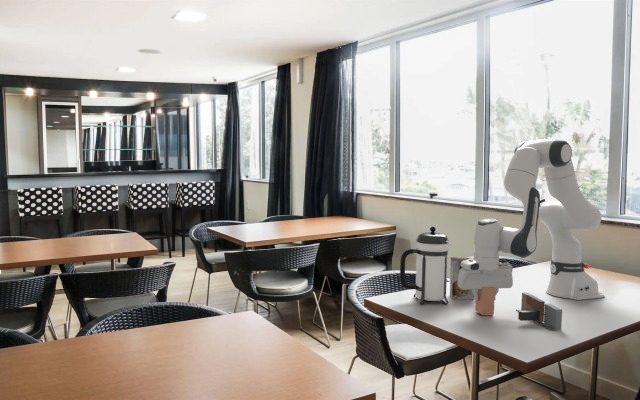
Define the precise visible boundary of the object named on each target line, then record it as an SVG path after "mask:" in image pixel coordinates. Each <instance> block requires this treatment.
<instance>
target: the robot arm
mask: <svg viewBox="0 0 640 400" xmlns="http://www.w3.org/2000/svg"><path fill="white" fill-rule="evenodd" d="M572 152H573V150H572V146H571V145H570V144H569V143H568V141H566V140H563V139H547V138H546V139H543V138H542V139H536V140H535V139H534V140H525V141H521V142H519V143H518V144H517V145H516V147H515V148H514V153H513V155H512V157H511V160H509V161H510V162H509V164H508V167H507V169H506V172H505V176H504V181H503V186H504V188H505V190H506V192H507V193H508V194H509V195H511V196H512V197H514V198H515V199H516V200H518V201H520V202H521V203H522V205H523V211H522V219H521V225H520V227H518V228H515V227H514V228H513V227H508V226H504V225H502V224H500V223H499V221H498V220H497V219H496V218H482V219H480V220H478V221H477V222H476V225H475V229H474V239H473V241H474V242H473V243H474V251H473V256H472V257H469V258H470V259H467V260H464V261H462V262H461V267H462V268H461V269H460V271H459V274H458V286H459V288H461V289H463V290H469V289H472V292H473V294H474V299H473V300H474V302H475V301H480V296H479V295H477V293H476V292H478V289H482V287H494V288H495V298H494V301H496V297H497V295H498V293H499V289H512V287H513V285H514V283H513V282H514V279H513V265H512V264H511V263H509V262H500V261H499V260H500V253H502V254H509V255H513V256H515V257H518V258H523V259H526V258H527V257H529V256H531V255H532V254H533V253H534V252H535V251H536V250H537V246H538V244H537V243H538V242H537V241H538V240H537V231H538V221H540V222H541V223H542V224H543V225H544V226H545V227H546V229H547V231H548V232H549V235H550V238H551V245H552V249H551V250H552V251H551V258H552V259H550V266H549V267H550V276H549V277H550V278H549V282H548V285H547V288H546V290H545V292H546V293H547V294H548V295H551V296H554V297H558V298H564V299H570V300H575V301H576V300H577V301H580V300H581V301H583V300H590V299H600V298H605V294H604V293H603V292H602V291H599V284H598V282H597V280H596V278H593V277H592V276H591V275H590V274H588V272H586V271H585V269H590V267H591V265H590V264H589V263H586V262H585V263H583V262H582V252H583V251H582V249H583V246H582V243H581V241H580V240H579V239H577V237H575V236H574V235H573V233H572V230H574V231H575V230H576V231H582V232H583V231H594V230H596V229H598V227H599V226H600V225H601V222H602V213H601V211H600V209H599V208H598V207H596V206H595V205H594V204H592V203H591V202H590V201H589V200H588V199H587V198H586V196H584V194H583V192H582V191H581V189H580V187H579V184H578V181H577V180H578V179H577V175H576V171H575V166H574V163H573V160H572V156H573V153H572ZM540 169H543V170H544V178H545V179H546V181H545V182H546V185H547V189H548V193H549V195H550V196H551V197H552V198H554V199H555V201H547V202H544V203H542V204H541V195H540V191H539V190H538V189H537V187H536V184H537V183H536V182H537V178H538V176H539V170H540ZM556 200H557V201H556ZM540 204H541V206H540Z"/></svg>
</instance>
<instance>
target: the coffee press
mask: <svg viewBox="0 0 640 400" xmlns="http://www.w3.org/2000/svg"><path fill="white" fill-rule="evenodd" d="M436 230H437V229H436V227H435V226H431V227H430V228H429V232H428V231H427V232H421V233H420V234H418V236H417V237H416V239H415V242H416V248H414V249H413V248H410V249H406V250H405V251H403V253H402V254H401V256H400V264H399V280H400V284H401V285H402V286H403V288H405V289H408V290H415V293H414V294H413V298H415V299H417V298H418V299H420V300H419V305H422V306H423V305H425V303H426V302H427V301H429V302H431V301H432V302H437V301H439V302H440V301H441V303H442V304H443V305H444V306H445V305H448V304H449V301H448V300H449V299H447V285H448V284H447V283H448V282H447V280H448V256H449V248H452V244H451V242H450V240H449V238H448V236H447V235H446V234H445V233H442V232H441V233H440V232H436ZM412 254H416V261H415V263H416V265H415V283H414V284H408V283H407V282H406V279H405V277H406V258H407V257H408V256H409V255H412Z"/></svg>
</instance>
